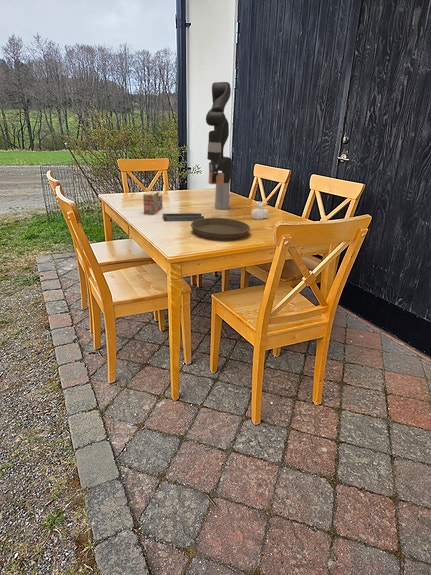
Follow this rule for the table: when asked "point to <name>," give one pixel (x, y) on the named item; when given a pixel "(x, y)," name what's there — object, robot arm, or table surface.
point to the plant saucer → (220, 228)
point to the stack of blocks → (152, 202)
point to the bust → (259, 211)
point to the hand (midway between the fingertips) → (212, 182)
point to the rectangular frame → (182, 216)
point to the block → (217, 178)
